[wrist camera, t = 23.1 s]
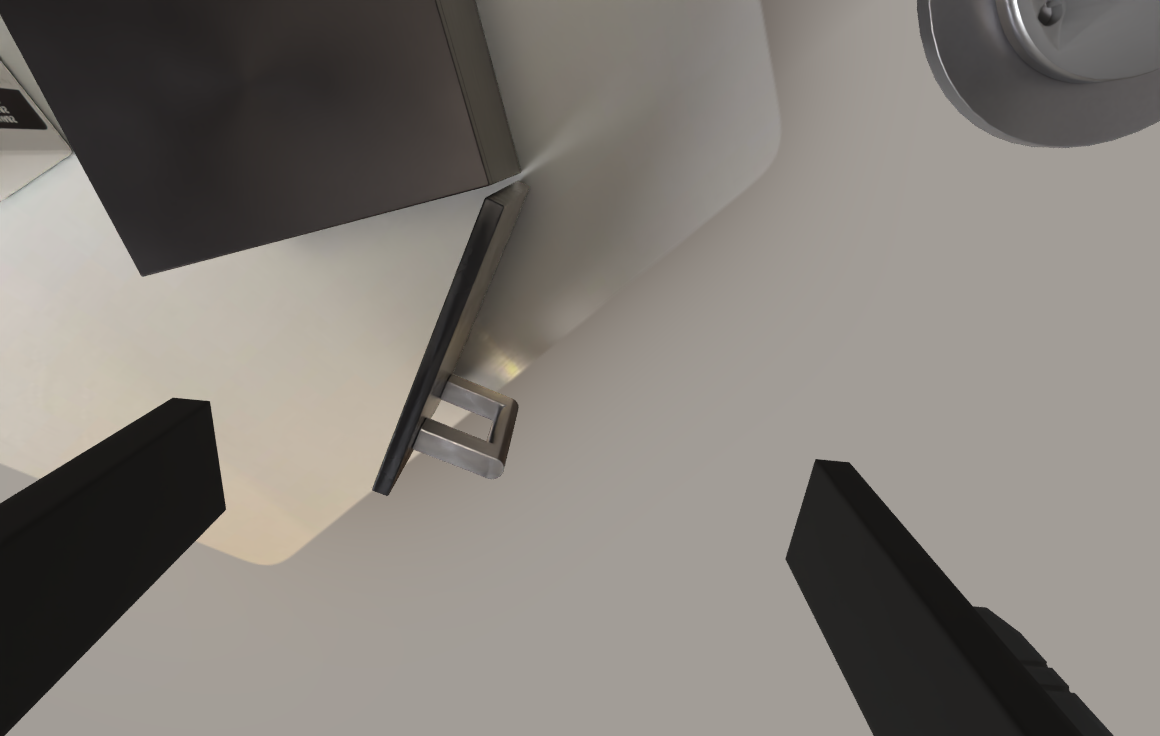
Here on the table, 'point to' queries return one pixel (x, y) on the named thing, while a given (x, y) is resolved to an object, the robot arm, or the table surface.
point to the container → (24, 138)
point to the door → (444, 355)
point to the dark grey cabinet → (264, 112)
